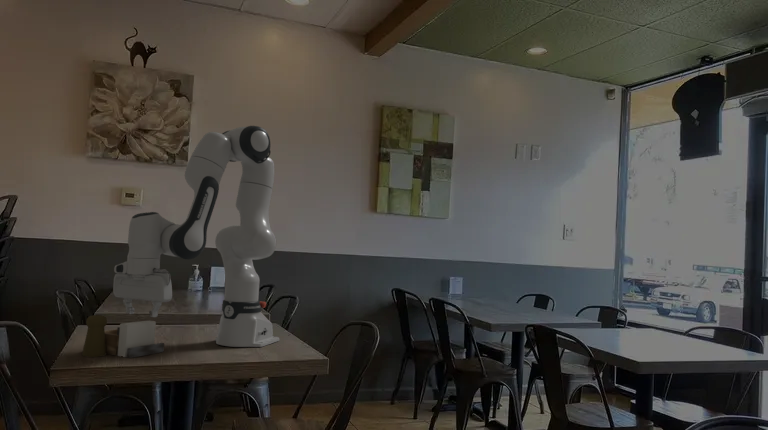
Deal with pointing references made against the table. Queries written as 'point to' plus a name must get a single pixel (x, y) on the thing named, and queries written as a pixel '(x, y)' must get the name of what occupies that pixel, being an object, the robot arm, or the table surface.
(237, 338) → the robot arm
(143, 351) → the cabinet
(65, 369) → the table surface
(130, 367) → the table surface
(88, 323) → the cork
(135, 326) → the white rectangular block
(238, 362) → the table surface
